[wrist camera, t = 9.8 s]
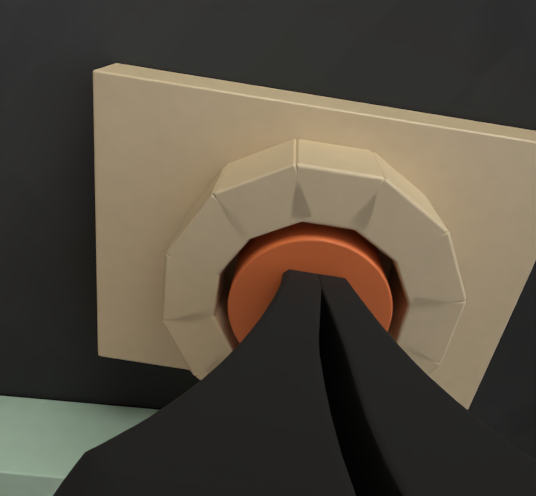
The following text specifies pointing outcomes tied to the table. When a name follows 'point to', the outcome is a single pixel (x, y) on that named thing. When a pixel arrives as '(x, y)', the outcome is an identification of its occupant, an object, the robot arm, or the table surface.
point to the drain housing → (302, 213)
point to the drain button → (305, 270)
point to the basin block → (53, 439)
